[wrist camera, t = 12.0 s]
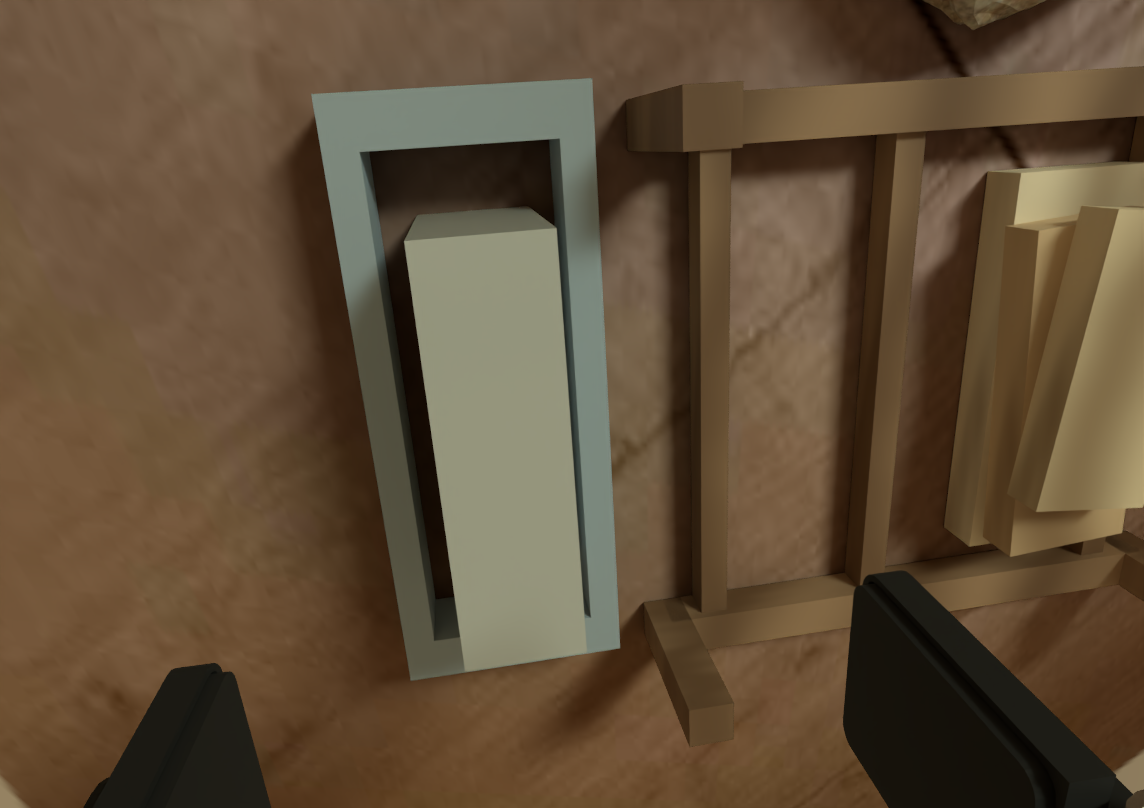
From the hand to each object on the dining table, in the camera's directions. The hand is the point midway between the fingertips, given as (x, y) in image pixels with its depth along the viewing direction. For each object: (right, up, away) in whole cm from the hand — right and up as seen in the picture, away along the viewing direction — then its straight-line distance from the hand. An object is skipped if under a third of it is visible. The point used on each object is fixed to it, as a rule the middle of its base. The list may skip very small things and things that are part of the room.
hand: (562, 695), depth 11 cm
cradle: (-3, +5, +14) cm, 15 cm away
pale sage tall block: (-3, +5, +14) cm, 15 cm away
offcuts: (+18, +6, +17) cm, 25 cm away
